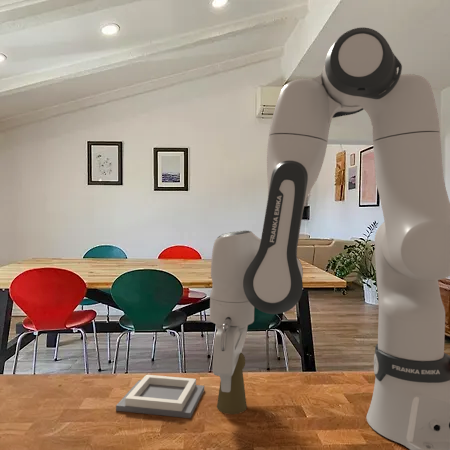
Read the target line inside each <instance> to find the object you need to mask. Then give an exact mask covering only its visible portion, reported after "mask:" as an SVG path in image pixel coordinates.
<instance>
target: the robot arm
mask: <svg viewBox="0 0 450 450" xmlns="http://www.w3.org/2000/svg"><path fill="white" fill-rule="evenodd" d="M402 71H403V65H402V63H401V61H400V60H399V59H398V57H397V56H396V55H395V53H394V52H393V49H392V47H391V46H390V44H389V42H388V41H387V39H386V38H385V37H384V36H383V34H381V33H380V32H379V31H378V30H375V29H373V28H370V27H354V28H352V29H350V30H348V31H346V32H344V33H343V34H341V35H340V36H339V37H338V38H336V40H335V41H334V42H333V44H332V45H331V46H330V48H329V49H328V50H327V53H326V56H325V61H324V66H323V69H322V72H321V73H320V74H319V75H318V76H317V77H314V78H297V79H293V80H290V81H289V82H287V83H286V84H284V86H283V87H282V88H281V90H280V92H279V94H278V98H277V100H276V103H275V107H274V110H273V114H272V117H271V123H270V127H269V134H268V140H267V149H266V150H267V151H266V172H267V173H266V174H267V201H266V207H265V213H264V214H265V215H264V221H263V226H262V230H261V231H262V233H261V236H260V237H258V236H257V235H255V234H254V233H253V231H251V230H239V231H232V232H227V233H226V232H225V233H222V234H221V235H219V236H218V237H217V238H216V239H215V240H214V243H213V248H212V253H211V261H210V263H211V264H210V277H211V278H210V279H211V282H212V287H211V292H210V295H209V296H210V297H209V299H210V300H209V321H210V322H211V323H213V324H215V329H216V330H217V331H216V332H215V335H214V340H213V341H214V342H213V355H212V371H213V372H212V373H213V375H214V376H219V379H220V380H219V381H221V391H222V392H230V390H231V387H232V380H231V376H232V375H233V373H234V370H235V367H236V364H237V362H238V359H239V355H240V353H242V350H243V348H244V345H245V343H246V339H247V332H248V326H249V325H252V324H253V323H254V322H255V309H257V310H258V311H260V312H262V313H265V314H270V315H279V314H283V313H286V312H288V311H291V310H292V309H293V308H294V307H295V306H296V305H297V304H298V303H299V301H300V299H301V297H302V294H303V290H304V289H303V288H304V287H303V285H304V284H303V278H304V269H303V265H302V262H301V260H300V259H299V258H298V245H299V238H300V232H301V225H302V221H303V220H302V219H303V213H304V208H305V204H306V201H307V199H308V196H309V195H310V192H311V190H312V188H313V187H314V185H315V184H316V182H317V180H318V178H319V175H320V173H321V171H322V168H323V164H324V161H325V158H326V157H325V156H326V152H327V147H328V140H329V133H330V128H331V123H332V119H334V118H339V117H343V116H344V117H345V116H350V115H354V114H357V113H360V112H362V111H363V110H364V111H365V112H366V113H367V115H368V117H369V119H370V123H371V126H372V143H373V144H372V145H373V146H372V147H373V156H374V157H373V161H374V171H375V172H374V174H375V176H374V177H375V185H376V188H377V192H378V195H379V199H380V205H381V208H382V209H381V210H382V214H383V220H384V221H383V222H382V223H381V224H380V225H379V227H378V228H377V230H376V233H375V234H374V235H375V236H374V253H375V254H374V257H375V258H374V259H375V260H374V261H375V277H376V278H375V279H376V288H377V298H378V299H377V300H378V317H377V319H378V321H377V324H378V325H377V344H376V345H375V346H374V347H375V349H374V356H373V372H374V373H373V374H374V377H375V379H374V385H373V386H374V387H373V393H372V398H371V402H370V405H369V407H368V410H367V414H366V422H367V423H368V425H369V426H370V427H371V428H372V429H373V431H375V432H376V433H378V434H379V435H381V436H383V437H385V439H389V440H391V441H394V442H395V443H398V444H401V445H403V446H404V447H406V448H407V449H409V450H450V355H449V354H447V353H446V352H445V337H446V336H445V335H446V334H445V333H446V309H445V306H444V303H443V300H442V295H441V291H440V290H441V289H440V284H439V281H440V280H443V279H446V278H449V277H450V199H449V196H448V192H447V191H448V190H447V187H446V183H445V179H444V170H443V156H442V154H443V153H442V145H441V144H442V143H441V142H442V141H441V131H440V129H441V128H440V122H439V121H440V120H439V114H438V109H437V103H436V100H435V96H434V93H433V87H432V86H431V83H430V82H429V80H427V78H425V77H424V76H421V75H418V74H414V73H413V74H411V73H407V74H402Z"/></svg>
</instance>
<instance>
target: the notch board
mask: <svg viewBox="0 0 450 450" xmlns="http://www.w3.org/2000/svg"><path fill="white" fill-rule="evenodd" d="M204 392H205V385H199V384H197V378H193V377H192V378H191V377H180V376H179V377H178V376H168V375H167V376H165V375H155V374H146V375H144V377H142V379H139V380H138V381H136V382H135V384H134V385H133V386H132V387H131V388H130V390H128V392H127V393H126V394H125V395H124V396H123V397H122V399H121V400H120V401H119V402H117V404H116V405H115V411H116V412H124V413H125V412H126V413H135V414H136V413H137V414H144V415H145V414H146V415H154V416H165V417H175V418H184V419H192V417H193V414H194V411H195V410H196V408H197V406H198V404H199V402H200V400H201V398H202V395H203V394H204Z"/></svg>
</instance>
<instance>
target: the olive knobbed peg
mask: <svg viewBox="0 0 450 450" xmlns="http://www.w3.org/2000/svg"><path fill="white" fill-rule="evenodd" d="M245 366H246V358H245V355H244V354H243V353H242V352H241V353H240V355H239V359H238V362H237V364H236V367H235V370H234V373H233V375H232V376H231V380H232V387H231V390H230V392H222V391H221V380H219V381H220V382H219V390H218V395H217V396H218V397H217V404H216V408H217V410H218V411H219V412H220V413H221V412H222V413H223V414H227V415H239V414H242V413H244V412H245V411H246V410H247V407H248V406H247V405H248V404H247V397H246V389H245V388H246V387H245V381H244V380H245V379H244V372H243V370H244V368H245Z"/></svg>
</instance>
